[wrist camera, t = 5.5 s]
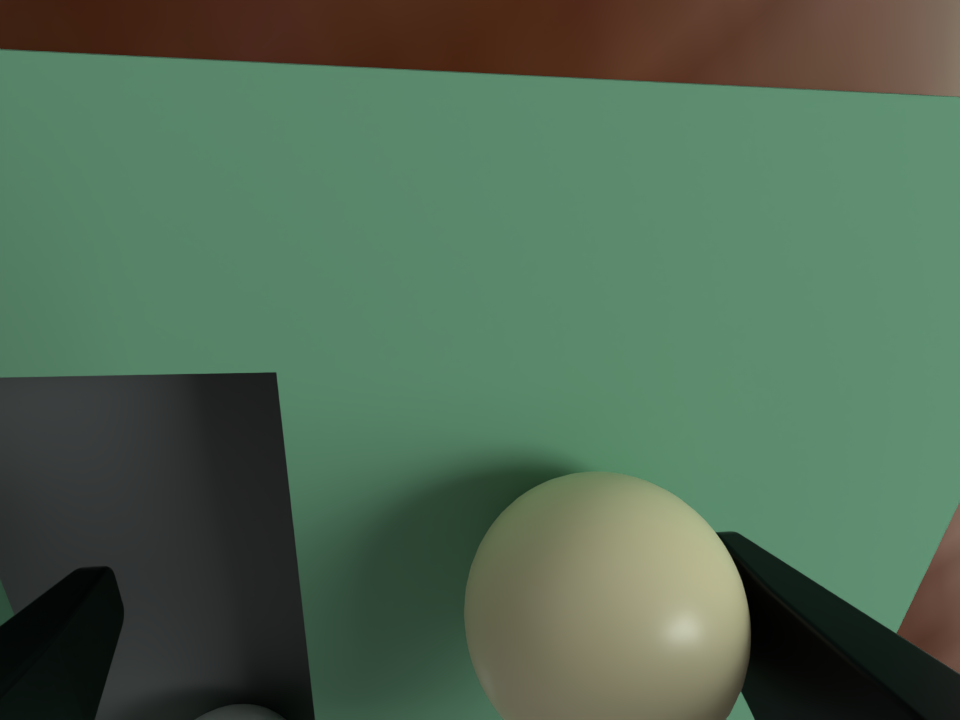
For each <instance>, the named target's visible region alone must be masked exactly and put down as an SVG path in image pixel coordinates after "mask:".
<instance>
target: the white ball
mask: <svg viewBox="0 0 960 720" xmlns="http://www.w3.org/2000/svg"><path fill="white" fill-rule="evenodd" d="M195 720H286V719H285V718H283V717H282V716H281V715H279V714H278V713H276V712H274V711H272V710H270V709H268V708H265V707H262V706H259V705H252V704H233V705H228V706H224V707H220V708H217V709H215V710H212V711H210V712H207V713H205V714H203V715H201V716H200V717H198V718H197V719H195Z"/></svg>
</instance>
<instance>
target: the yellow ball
mask: <svg viewBox="0 0 960 720" xmlns="http://www.w3.org/2000/svg"><path fill="white" fill-rule="evenodd" d="M464 621H465V631H466V639H467V645H468V650H469V654H470V657H471V661H472V664H473V667H474V670H475V672H476V675H477V677H478V680H479V682H480V684H481V686H482V688H483V690H484V692H485V694H486V696H487V697H488V699H489V701H490V702H491V704H492V705H493V707H494V708H495V710H496V711H497V712H498V713H499V715H500V716H501V717H502V718H503V720H726V719H727V717H728V716H729V715H730V713H731V711H732V709H733V707H734V705H735V703H736V701H737V698H738V696H739V694H740V692H741V690H742V688H743V684H744V680H745V676H746V672H747V668H748V664H749V660H750V647H751V622H750V614H749V608H748V603H747V598H746V594H745V590H744V587H743V583H742V580H741V578H740V575H739V573H738V570H737V568H736V566H735V563H734V561H733V559H732V557H731V555H730V554H729V552H728V550H727V549H726V547H725V545H724V544H723V542H722V541H721V539H720V538H719V537H718V535H717V534H716V533H715V531H714V530H713V529H712V528H711V526H710V525H709V524H708V523H707V522H706V521H705V520H704V519H703V518H702V517H701V516H700V515H699V514H698V513H697V512H696V511H695V510H694V509H692V508H691V507H690V506H689V505H687V504H686V503H685V502H684V501H682V500H681V499H680V498H678V497H677V496H675V495H674V494H672V493H671V492H669V491H667V490H665V489H663V488H661V487H659V486H657V485H655V484H653V483H650V482H648V481H646V480H643V479H640V478H637V477H633V476H629V475H625V474H620V473H614V472H601V471H594V472H580V473H573V474H569V475H565V476H561V477H558V478H554V479H551V480H548V481H546V482H544V483H542V484H540V485H537V486H536V487H534V488H532V489H530V490H529V491H527V492H526V493H524V494H523V495H521V496H520V497H518V498H517V499H516V500H515V501H514V502H513V503H511V504H510V505H509V506H508V507H507V508H506V509H505V510H504V511H503V512H502V513H501V514H500V515H499V516H498V518H497V519H496V520H495V521H494V522H493V524H492V525H491V526H490V528H489V529H488V531H487V533H486V534H485V536H484V538H483V540H482V541H481V543H480V545H479V547H478V550H477V552H476V555H475V557H474V560H473V562H472V565H471V568H470V572H469V577H468V581H467V585H466V592H465V605H464Z"/></svg>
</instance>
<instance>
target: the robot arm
mask: <svg viewBox="0 0 960 720" xmlns="http://www.w3.org/2000/svg"><path fill="white" fill-rule="evenodd" d="M715 533H716V534H717V535H718V537H719V538H720V539H721V541H722V542H723V544H724V545H725V547H726V549H727V550H728V552H729V554H730V555H731V557H732V559H733V561H734V563H735V566H736V568H737V570H738V573H739V575H740V578H741V580H742V583H743V587H744V590H745V594H746V598H747V603H748V608H749V614H750V622H751V647H750V660H749V664H748V668H747V672H746V676H745V680H744V684H743V688H742V690H741V692H742V695H743V697H744V699H745V701H746V703H747V705H748V707H749V709H750V711H751V713H752V715H753V717H754V719H755V720H960V674H959V673H958V672H956V671H955V670H953V669H951V668H950V667H948V666H947V665H945V664H944V663H942V662H940V661H939V660H937V659H936V658H934V657H933V656H931V655H929V654H928V653H926V652H925V651H923V650H922V649H920V648H918V647H917V646H915V645H914V644H912V643H911V642H909V641H907V640H906V639H904V638H903V637H901V636H900V635H898V634H896V633H895V632H893V631H892V630H890V629H889V628H887V627H885V626H884V625H882V624H881V623H879V622H878V621H876V620H875V619H873V618H871V617H870V616H868V615H867V614H865V613H864V612H862V611H860V610H859V609H857V608H856V607H854V606H853V605H851V604H849V603H848V602H846V601H845V600H843V599H842V598H840V597H838V596H837V595H835V594H834V593H832V592H831V591H829V590H827V589H826V588H824V587H823V586H821V585H820V584H818V583H816V582H815V581H813V580H812V579H810V578H809V577H807V576H805V575H804V574H802V573H801V572H799V571H798V570H796V569H794V568H793V567H791V566H790V565H788V564H787V563H785V562H783V561H782V560H780V559H779V558H777V557H776V556H774V555H772V554H771V553H769V552H768V551H766V550H765V549H763V548H761V547H760V546H758V545H757V544H755V543H754V542H752V541H751V540H749V539H747V538H746V537H744V536H743V535H741V534H739V533H738V532H734V531H724V532H715ZM123 621H124V606H123V602H122V598H121V595H120V591H119V588H118V584H117V580H116V577H115V574H114V571H113V570H112V569H111V568H110V567H108V566H93V567H81V568H78V569H76V570H74V571H73V572H71V573H70V574H68V575H67V576H66V577H64V578H63V579H62V580H60V581H59V582H58V583H56V584H55V585H54V586H52V587H51V588H50V589H48V590H47V591H46V592H44V593H43V594H42V595H40V596H39V597H38V598H36V599H35V600H34V601H33V602H31V603H30V604H29V605H27V606H26V607H25V608H23V609H22V610H21V611H19V612H18V613H17V614H15V615H14V616H13V617H11V618H10V619H9V620H7V621H6V622H5V623H3V624H2V625H1V626H0V720H95V718H96V714H97V711H98V707H99V704H100V701H101V697H102V694H103V690H104V687H105V684H106V680H107V677H108V673H109V670H110V667H111V663H112V660H113V656H114V653H115V650H116V646H117V643H118V639H119V636H120V633H121V629H122V626H123Z"/></svg>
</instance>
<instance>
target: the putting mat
mask: <svg viewBox="0 0 960 720" xmlns="http://www.w3.org/2000/svg"><path fill="white" fill-rule="evenodd" d="M594 471H601V472H614V473H620V474H625V475H629V476H633V477H637V478H640V479H643V480H646V481H648V482H650V483H653V484H655V485H657V486H659V487H661V488H663V489H665V490H667V491H669V492H671V493H672V494H674V495H675V496H677V497H678V498H680V499H681V500H682V501H684V502H685V503H686V504H687V505H689V506H690V507H691V508H692V509H694V510H695V511H696V512H697V513H698V514H699V515H700V516H701V517H702V518H703V519H704V520H705V521H706V522H707V523H708V524H709V525H710V526H711V528H712V529H713V530H714V531H715V532H724V531H734V532H738V533H739V534H741V535H743V536H744V537H746V538H747V539H749V540H751V541H752V542H754V543H755V544H757V545H758V546H760V547H761V548H763V549H765V550H766V551H768V552H769V553H771V554H772V555H774V556H776V557H777V558H779V559H780V560H782V561H783V562H785V563H787V564H788V565H790V566H791V567H793V568H794V569H796V570H798V571H799V572H801V573H802V574H804V575H805V576H807V577H809V578H810V579H812V580H813V581H815V582H816V583H818V584H820V585H821V586H823V587H824V588H826V589H827V590H829V591H831V592H832V593H834V594H835V595H837V596H838V597H840V598H842V599H843V600H845V601H846V602H848V603H849V604H851V605H853V606H854V607H856V608H857V609H859V610H860V611H862V612H864V613H865V614H867V615H868V616H870V617H871V618H873V619H875V620H876V621H878V622H879V623H881V624H882V625H884V626H885V627H887V628H889V629H890V630H892V631H893V632H895V633H897V631H898V629H899V627H900V625H901V622H902V620H903V618H904V616H905V614H906V612H907V610H908V608H909V606H910V604H911V602H912V600H913V598H914V595H915V593H916V591H917V589H918V587H919V585H920V583H921V581H922V579H923V577H924V575H925V573H926V571H927V568H928V566H929V564H930V562H931V560H932V558H933V556H934V554H935V552H936V550H937V548H938V546H939V543H940V541H941V539H942V537H943V535H944V533H945V531H946V529H947V527H948V525H949V523H950V521H951V519H952V516H953V514H954V512H955V510H956V508H957V506H958V504H959V502H960V97H954V96H935V95H916V94H895V93H875V92H855V91H835V90H815V89H795V88H774V87H754V86H734V85H714V84H694V83H673V82H653V81H633V80H613V79H593V78H573V77H552V76H532V75H512V74H492V73H472V72H451V71H431V70H411V69H391V68H371V67H351V66H330V65H310V64H290V63H270V62H250V61H229V60H209V59H189V58H169V57H149V56H129V55H108V54H88V53H68V52H48V51H28V50H7V49H0V626H1V625H2V624H3V623H5V622H6V621H7V620H9V619H10V618H11V617H13V616H14V615H15V614H17V613H18V612H19V611H21V610H22V609H23V608H25V607H26V606H27V605H29V604H30V603H31V602H33V601H34V600H35V599H36V598H38V597H39V596H40V595H42V594H43V593H44V592H46V591H47V590H48V589H50V588H51V587H52V586H54V585H55V584H56V583H58V582H59V581H60V580H62V579H63V578H64V577H66V576H67V575H68V574H70V573H71V572H73V571H74V570H76V569H78V568H81V567H93V566H108V567H110V568H111V569H112V570H113V571H114V574H115V577H116V580H117V584H118V588H119V591H120V595H121V598H122V602H123V606H124V621H123V626H122V629H121V633H120V636H119V639H118V643H117V646H116V650H115V653H114V656H113V660H112V663H111V667H110V670H109V673H108V677H107V680H106V684H105V687H104V690H103V694H102V697H101V701H100V704H99V707H98V711H97V714H96V718H95V720H195V719H197V718H198V717H200V716H201V715H203V714H205V713H207V712H210V711H212V710H215V709H217V708H220V707H224V706H228V705H233V704H252V705H259V706H262V707H265V708H268V709H270V710H272V711H274V712H276V713H278V714H279V715H281V716H282V717H283V718H285V719H286V720H503V718H502V717H501V716H500V715H499V713H498V712H497V711H496V710H495V708H494V707H493V705H492V704H491V702H490V701H489V699H488V697H487V696H486V694H485V692H484V690H483V688H482V686H481V684H480V682H479V680H478V677H477V675H476V672H475V670H474V667H473V664H472V661H471V657H470V654H469V650H468V645H467V639H466V631H465V621H464V605H465V592H466V585H467V581H468V577H469V572H470V568H471V565H472V562H473V560H474V557H475V555H476V552H477V550H478V547H479V545H480V543H481V541H482V540H483V538H484V536H485V534H486V533H487V531H488V529H489V528H490V526H491V525H492V524H493V522H494V521H495V520H496V519H497V518H498V516H499V515H500V514H501V513H502V512H503V511H504V510H505V509H506V508H507V507H508V506H509V505H510V504H511V503H513V502H514V501H515V500H516V499H517V498H518V497H520V496H521V495H523V494H524V493H526V492H527V491H529V490H530V489H532V488H534V487H536V486H537V485H540V484H542V483H544V482H546V481H548V480H551V479H554V478H558V477H561V476H565V475H569V474H573V473H580V472H594ZM726 720H755V719H754V717H753V715H752V713H751V711H750V709H749V707H748V705H747V703H746V701H745V699H744V697H743V695H742V692H740V694H739V696H738V698H737V701H736V703H735V705H734V707H733V709H732V711H731V713H730V715H729V716H728V717H727V719H726Z"/></svg>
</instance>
